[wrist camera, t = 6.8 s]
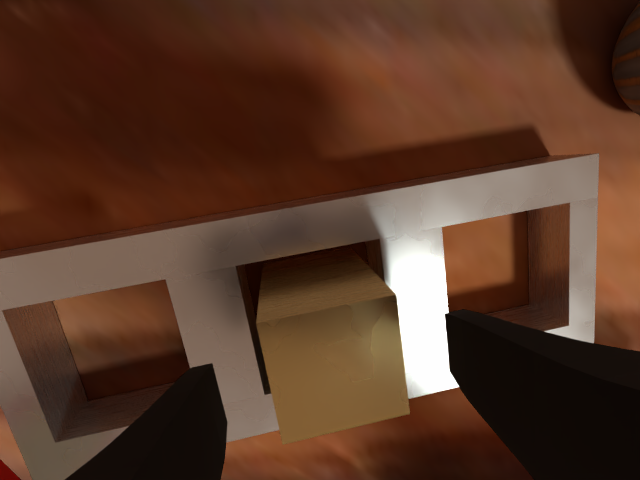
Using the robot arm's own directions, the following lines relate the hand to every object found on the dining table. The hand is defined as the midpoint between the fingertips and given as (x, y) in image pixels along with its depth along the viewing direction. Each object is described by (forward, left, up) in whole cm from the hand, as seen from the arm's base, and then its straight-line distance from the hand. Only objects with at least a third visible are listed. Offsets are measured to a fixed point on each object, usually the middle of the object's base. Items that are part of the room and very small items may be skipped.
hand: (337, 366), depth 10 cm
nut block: (0, 0, -6) cm, 6 cm away
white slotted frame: (0, 0, -6) cm, 6 cm away
